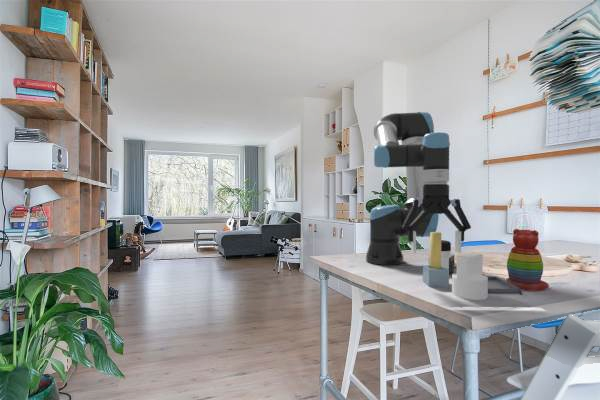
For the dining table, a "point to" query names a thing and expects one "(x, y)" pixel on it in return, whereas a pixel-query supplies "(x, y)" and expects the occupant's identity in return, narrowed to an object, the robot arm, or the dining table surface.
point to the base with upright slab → (470, 278)
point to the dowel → (435, 250)
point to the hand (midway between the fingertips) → (435, 252)
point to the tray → (501, 286)
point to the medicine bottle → (446, 256)
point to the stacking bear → (526, 262)
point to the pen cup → (436, 276)
